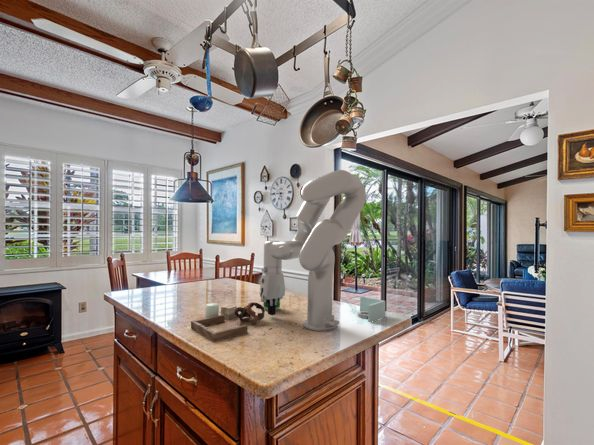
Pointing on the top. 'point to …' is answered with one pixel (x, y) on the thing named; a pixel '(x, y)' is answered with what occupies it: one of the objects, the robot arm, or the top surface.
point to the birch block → (228, 311)
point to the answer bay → (214, 336)
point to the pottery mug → (250, 312)
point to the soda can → (276, 305)
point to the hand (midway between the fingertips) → (271, 314)
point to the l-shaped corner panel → (371, 308)
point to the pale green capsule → (212, 310)
